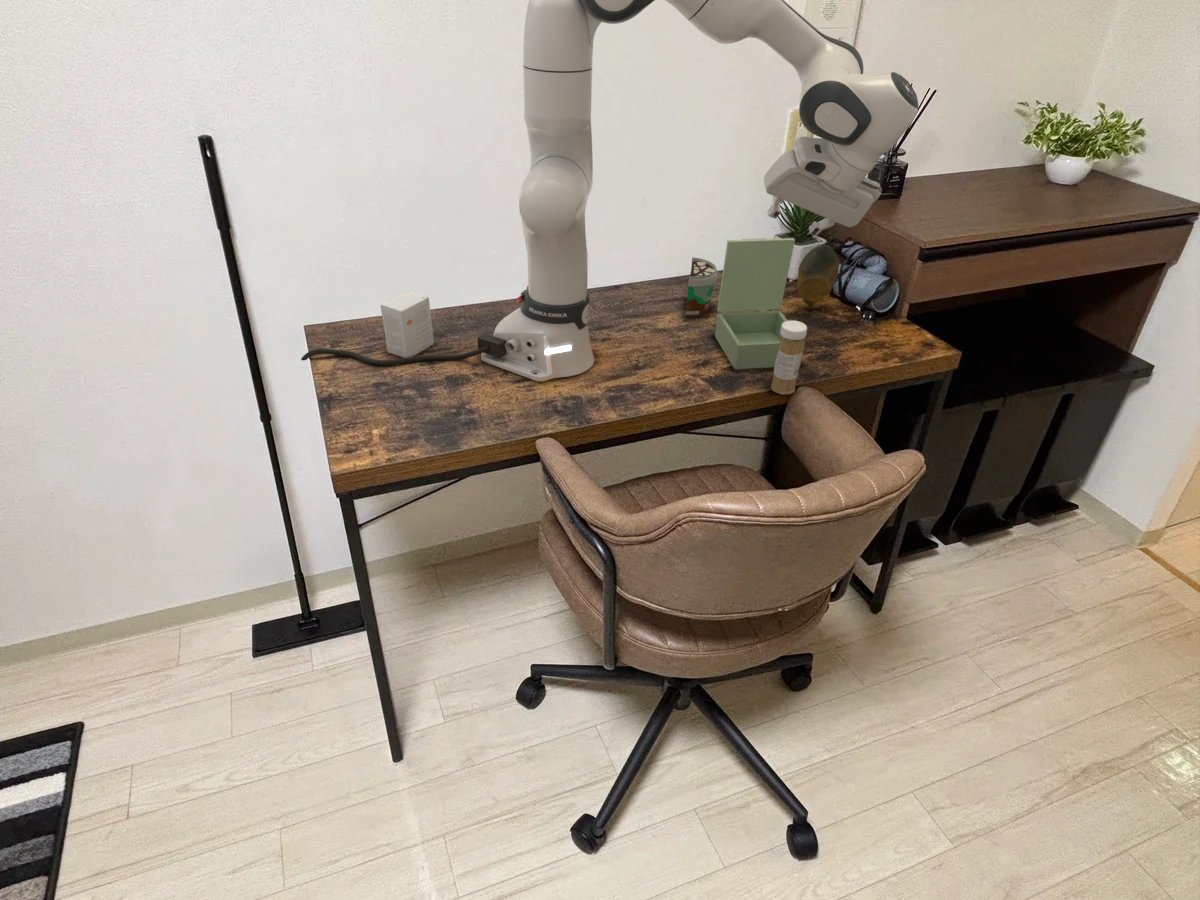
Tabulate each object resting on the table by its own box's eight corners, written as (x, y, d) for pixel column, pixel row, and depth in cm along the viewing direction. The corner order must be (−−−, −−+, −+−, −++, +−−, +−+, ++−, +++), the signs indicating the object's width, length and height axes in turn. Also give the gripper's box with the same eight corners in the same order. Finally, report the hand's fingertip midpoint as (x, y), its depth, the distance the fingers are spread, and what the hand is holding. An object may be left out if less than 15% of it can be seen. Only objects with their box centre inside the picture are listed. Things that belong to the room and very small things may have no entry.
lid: (795, 239, 152) (786, 229, 156) (728, 241, 150) (721, 231, 154) (780, 309, 162) (773, 298, 165) (718, 312, 160) (712, 300, 163)
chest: (800, 365, 153) (805, 341, 150) (734, 369, 152) (738, 345, 149) (775, 333, 165) (779, 310, 162) (714, 336, 163) (717, 313, 160)
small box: (414, 337, 159) (408, 289, 153) (435, 344, 157) (429, 296, 151) (386, 352, 154) (379, 303, 148) (407, 360, 151) (401, 310, 145)
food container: (712, 323, 169) (718, 279, 163) (684, 320, 169) (688, 277, 164) (714, 300, 179) (719, 258, 173) (688, 297, 179) (692, 256, 174)
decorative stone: (798, 315, 173) (810, 250, 164) (786, 304, 178) (797, 241, 169) (837, 312, 175) (851, 248, 166) (824, 301, 180) (837, 238, 171)
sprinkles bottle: (781, 381, 148) (792, 317, 140) (799, 391, 145) (813, 326, 138) (765, 388, 146) (776, 323, 138) (784, 398, 143) (796, 332, 135)
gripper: (883, 175, 139) (833, 230, 149) (790, 133, 131) (744, 194, 142) (891, 198, 135) (839, 253, 146) (796, 156, 128) (748, 216, 138)
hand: (791, 223), depth 144 cm, fingers open, 8 cm apart
